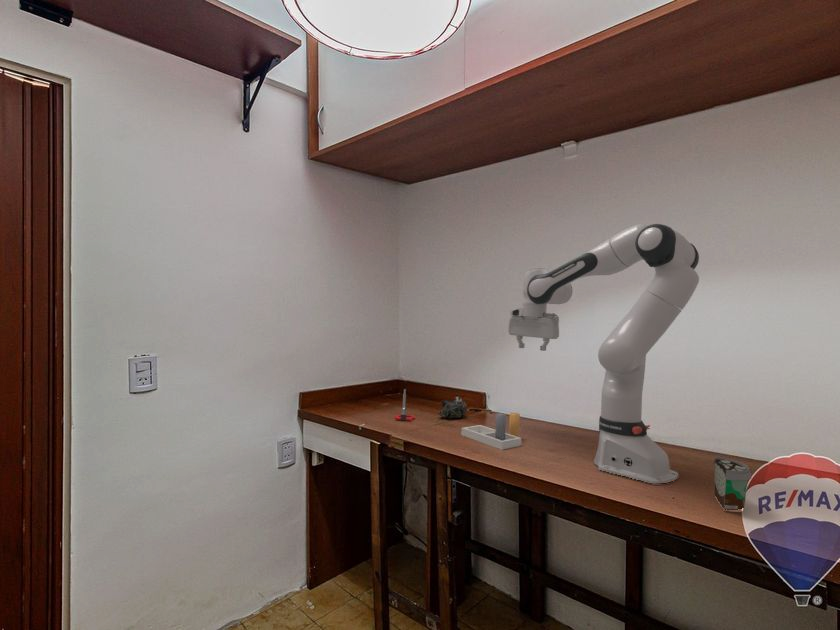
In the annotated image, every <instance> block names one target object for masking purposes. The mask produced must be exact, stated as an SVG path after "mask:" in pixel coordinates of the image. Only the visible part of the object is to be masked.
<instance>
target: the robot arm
mask: <svg viewBox="0 0 840 630" xmlns="http://www.w3.org/2000/svg"><path fill="white" fill-rule="evenodd" d="M699 255H700V254H699V251H698V250H697V248H696V246H695V245H694V244H693V243H691V242H690V241H688V239H687V238H686V237H685V236H684V235H682V234H681V233H680V232H677V231H676V230H674V229H672V227H670V226H668V225H665V224H660V223H652V224H648V225H647V224H643V223H639V224H636V225H633V226H630V227H628V228H626V229H624V230H621V231H620V232H618V233H616V234H614V235H612V236H610V238H608V239H606V240H604V241H603V242H602V243H601V244H600V243H599V245H596V246H595V247H594V248H592V249H590V250H588V251H586V252H585V253H583V254H580V255H579V256H577V257H575V258H573V259H571V260H570V261H568V262H566V263H564V264H562V265H561V266H559V267H556V268H554V269H553V270H551V271H548V270H547V269H545V268H532V269H529V270H527V271H526V273H525V275H524V279H523V284H522V287H523V288H522V294H523V300H522V306H521V307H518V308H515V309H512V310H511V311H510V316H511V317H510V318H509V320H508V328H507V329H508V331H507V332H508V334H509V335H510V336H516V341H517V344H518V348H519V349H525V343H524V342H523V337H528V338H538V339H542V341H543V344H542V345H540V347H539V350H540V351H541V352H542V351H543V352H544V351H545V352H546V351H547V346H548V344H549V343H550V340H558V338H560V325H559V322H560V317H559V315H557V314H556V313H553V312H552V313H550V312H547V308H548V307H547V306H548V305H564V304H566V303H568V302H569V301H570V300H571V298H572V295H573V286H572V284H571V283H573V282H575V281H577V280H579V279H581V278H585V277H592V276H611V275H615V274H618V273H619V272H622V271H624V270H626V269H628V268H630V267H631V266H633V265H635V264H637V263H638V262H640V261H642V260H644V262H645V263H646V264H647V266H649V267H650V268H654V271H655V273H654V277H653V279H652V280H651V282H650V283H649V285H648V286H647V287H646V288H645V289H644V291H643V292H642V293H641V294H640V297H639V298H637V300H636V302H635V303H634V304H633V306H632V307H631V309H630V310H629V311H628V312H627V314H626V315H624V317H623V318H622V319H621V320H620V322H619V323H618V324H617V325H616V326H615V328H614V329H613V330H612V331H611V332H610V333H609V335H607V337H606V339H605V340H604V341H603V342H602V343H601V345H600V346H599V349H598V352H597V357H598V362H599V363H600V365H601V367H602V368H604V370H605V372H604V377H603V378H604V379H603V383H602V384H603V385H602V389H601V401H600V402H601V406H600V410H601V411H600V416H599V419H598V421H599V422H598V432H599V437H598V444H597V448H596V449H597V450H596V454H595V457H594V460H593V463H594V464H595V466H597V469H598V470H599V471H600V470H602V471H601V472H603V471H606V472H605V473H607V472H609V473H608V474H611V473H613V474H612V475H615V474H617V475H616V476H618V475H621V476H620V477H622V476H626V477H629V478H628V479H630V478H632V479H631V480H634V479H636V480H635V481H637V480H641V481H644V482H643V483H645V482H649V483H665V482H670V481H672V480H674V479H676V478H677V477H678V478H679V473H678V471H676V470H672V469H671V467H670V460H669V456H668V454H667V452H666V451H665V450H663V449H662V448H661V447H660V446H659V444H657V443H656V442H655V441H654V440H653V439H652V438H651V437H650V436H649V435H648V432H647V431H648V430H650V429H651V428H650V426H651V425H650V424H648V425H645V423H644V421H643V420H642V412H643V411H642V409H643V389H644V381H645V371H646V362H647V361H646V360H647V354H648V353H649V352H650V350H651V349H652V348H653V347H654V346H655V344H656V343H657V342H658V341H659V340H660V338H662V336H663V335H664V334H665V333H666V332H667V330H668V329H669V328H670V327H671V325H672V324H673V323H674V321H675V320H676V319H677V317H678V316H679V315H680V313H681V312H682V311H683V310H684V309H685V307H686V305H687V304H688V303H689V302H690V300H691V298H692V296H693V294H694V292H695V291H696V288H697V287H698V285H699V281H700V276H699V274H698V273H697V272H696V270H695V269H696V267H697V266H698V264H699V262H700V256H699ZM547 304H548V305H547ZM626 477H625V478H626ZM641 481H640V482H641ZM649 483H648V484H649Z"/></svg>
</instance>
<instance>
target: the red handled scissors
mask: <svg viewBox="0 0 840 630" xmlns="http://www.w3.org/2000/svg"><path fill="white" fill-rule="evenodd" d="M406 391H407V389H406V388H405V389H403V394H402V408H401V414H396V415H394V418H395V421H401V422H412V421H413V420H415V419H416V416H415V415H412V414H407V408H406V404H407V401H406V400H407V394H406Z"/></svg>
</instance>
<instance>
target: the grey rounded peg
mask: <svg viewBox="0 0 840 630" xmlns="http://www.w3.org/2000/svg"><path fill="white" fill-rule="evenodd" d="M506 428H507V414H506V413H501V412H498V413H495V438H496V439H499V440H501V441H503V440H505V436H506V433H507V429H506Z"/></svg>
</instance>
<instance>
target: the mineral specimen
mask: <svg viewBox="0 0 840 630" xmlns="http://www.w3.org/2000/svg"><path fill="white" fill-rule="evenodd" d="M441 405H442V407H443V408H442V409H440V410H438V411H437V414H438V415H440V417H441V418H444V419H448V420H450V419H456V418H458V419H459V418H465V417H466V414H467V411H466V410H467V409H468V406H467V403H466V402H465V401H463V400H462V397H460V396H456V397H455V400H453V399H451V400H450V401H449V400H446V399H442V400H441Z"/></svg>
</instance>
